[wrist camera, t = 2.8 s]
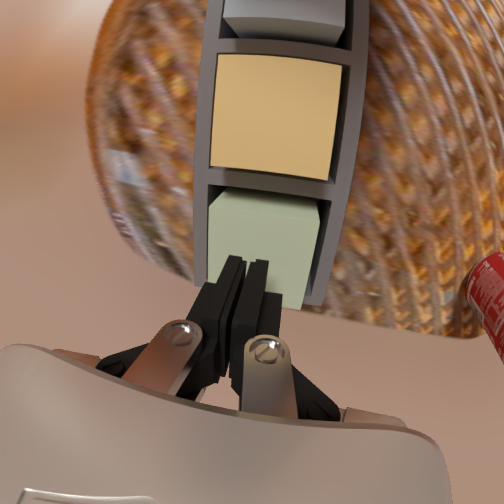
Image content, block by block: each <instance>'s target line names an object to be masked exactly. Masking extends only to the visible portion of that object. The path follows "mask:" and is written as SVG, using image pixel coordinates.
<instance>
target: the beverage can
mask: <svg viewBox="0 0 504 504" xmlns="http://www.w3.org/2000/svg"><path fill="white" fill-rule="evenodd" d="M466 299H467V302H468V303H469V305H470V306H471V308H472V310H473V311H474V313H475V314H476V316H477V318H478V319H479V321H480V322H481V324H482V326H483V327H484V329H485V331H486V333H487V334H488V336H489V338H490V340H491V341H492V343H493V345H494V347H495V349H496V350H497V352H498V354H499V356H500V358H501V360H502V362H503V364H504V253H501V252H496V253H492V254H490V255H487V256H485V257H483V258H481V259H480V260H479V261H478V262H477V263H476V264H475V266H474V267H473V269H472V270H471V272H470V275H469V278H468V283H467V286H466Z"/></svg>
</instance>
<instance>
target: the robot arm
mask: <svg viewBox="0 0 504 504" xmlns="http://www.w3.org/2000/svg"><path fill="white" fill-rule="evenodd" d="M246 267H247V261H245V260H243V258H242V257H241V256H234V255H229V256H228V258H227V260H226V262H225V265H224V267H223V269H222V271H221V273H220V275H219V277H218V280H217V282H216V283H211V282H205V283H204V285H203V287H202V289H201V290H200V293H199V294H198V296H197V298H196V300H195V302H194V304H193V306H192V308H191V310H190V312H189V314H188V316H187V318H186V320H175V321H171V322H169V323H167V324H166V325H164V326H163V327H162V329H161V330H160V331H159V332H158V333H157V334H156V336H155V337H154V338H153V339H152V340H151V342H150V343H147V344H144V345H141V346H138V347H135V348H132V349H129V350H126V351H122V352H119V353H116V354H113V355H110V356H107V357H105V358H103V359H100V358H99V356H94V355H88V354H82V353H77V352H72V351H66V350H62V349H54V350H49V349H46V348H43V347H39V346H35V345H28V344H12V345H9V346H6V347H5V348H3V349H2V350H0V504H453V503H452V493H451V486H450V480H449V475H448V470H447V466H446V462H445V459H444V456H443V453H442V451H441V449H440V447H439V446H438V444H437V443H436V442H435V441H434V440H433V439H432V438H431V437H429V436H427V435H425V434H423V433H421V432H419V431H416V430H412V429H409V428H407V426H406V424H405V422H404V421H402V420H401V419H400V418H397V417H394V416H388V415H383V414H377V413H372V412H367V411H363V410H358V409H353V408H349V407H347V408H346V409H341V408H338V406H337V405H336V404H335V403H334V402H333V401H332V400H331V399H330V398H329V397H328V396H326V395H325V394H324V393H323V392H322V391H321V390H320V389H318V388H317V387H316V386H315V385H314V384H313V383H312V382H311V381H310V380H308V379H307V378H306V377H305V376H304V375H303V374H302V373H301V372H300V371H298V370H297V369H296V368H295V367H294V366H293V365H292V364H291V358H290V351H289V348H288V346H287V344H286V343H285V342H284V341H282V340H281V339H280V338H279V328H280V318H281V309H282V298H283V294H280V293H273V292H267V291H265V288H266V281H267V274H268V267H269V261H268V260H261V259H256V261H255V262H250V265H249V268H248V271H247V275H246ZM229 361H230V365H229ZM228 365H229V378H232V381H231V387H232V388H233V390H234V391H235V392H236V393H237V394H238V395H239V411H237V410H231V409H226V408H221V407H217V406H211V405H207V404H203V403H199V402H200V400H201V399H202V397H203V395H204V393H205V390H206V387H207V386H209V385H211V384H213V383H218V381H219V378H220V376H222V377H225V375H226V371H227V368H228Z"/></svg>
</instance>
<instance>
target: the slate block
mask: <svg viewBox="0 0 504 504" xmlns="http://www.w3.org/2000/svg"><path fill="white" fill-rule="evenodd" d="M223 18H224V19H225V21H226V22H227V23H228V24H229V25H230V27H231V28H232V29H233V30H234V32H235V33H236V34H237V35H238V37H239V38H240V39H269V40H282V41H292V42H301V43H309V44H316V45H322V46H328V47H333V48H334V46H335V44H336V43H337V41H338V39H339V37H340V35H341V33H342V31H343V29H344V27H345V0H225V6H224V13H223Z"/></svg>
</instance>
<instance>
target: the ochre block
mask: <svg viewBox="0 0 504 504" xmlns="http://www.w3.org/2000/svg"><path fill="white" fill-rule="evenodd" d="M341 71H342V66H340V65H335V64H329V63H324V62H317V61H311V60H304V59H296V58H287V57H276V56H261V55H219V56H218V66H217V77H216V88H215V100H214V114H213V129H212V145H211V165H210V166H220V167H231V168H241V169H251V170H260V171H268V172H276V173H283V174H290V175H297V176H304V177H310V178H316V179H322V180H328V174H329V168H330V161H331V155H332V148H333V141H334V133H335V126H336V118H337V110H338V101H339V92H340V82H341Z"/></svg>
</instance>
